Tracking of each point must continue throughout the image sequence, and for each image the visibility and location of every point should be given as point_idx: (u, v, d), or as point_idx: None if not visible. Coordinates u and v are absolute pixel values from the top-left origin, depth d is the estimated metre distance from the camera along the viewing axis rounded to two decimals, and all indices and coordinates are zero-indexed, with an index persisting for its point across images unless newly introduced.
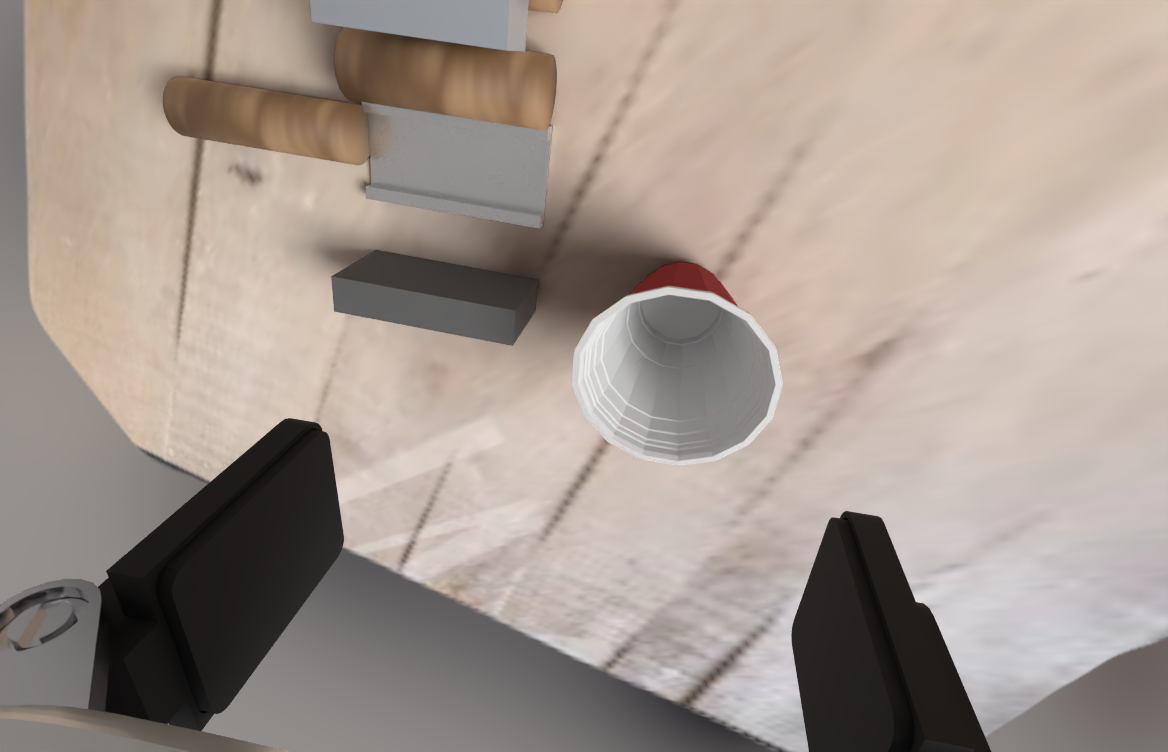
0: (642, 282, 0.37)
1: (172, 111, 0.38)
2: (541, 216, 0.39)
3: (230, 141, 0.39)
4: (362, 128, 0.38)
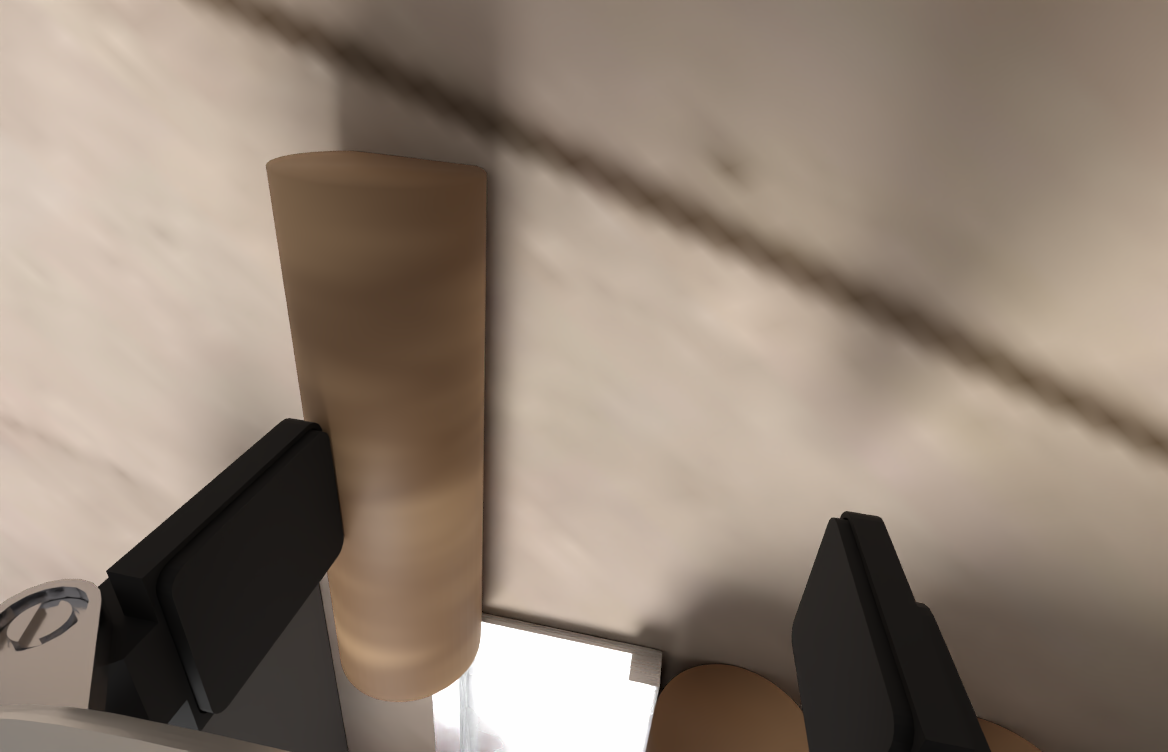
0: None
1: None
2: None
3: None
4: None
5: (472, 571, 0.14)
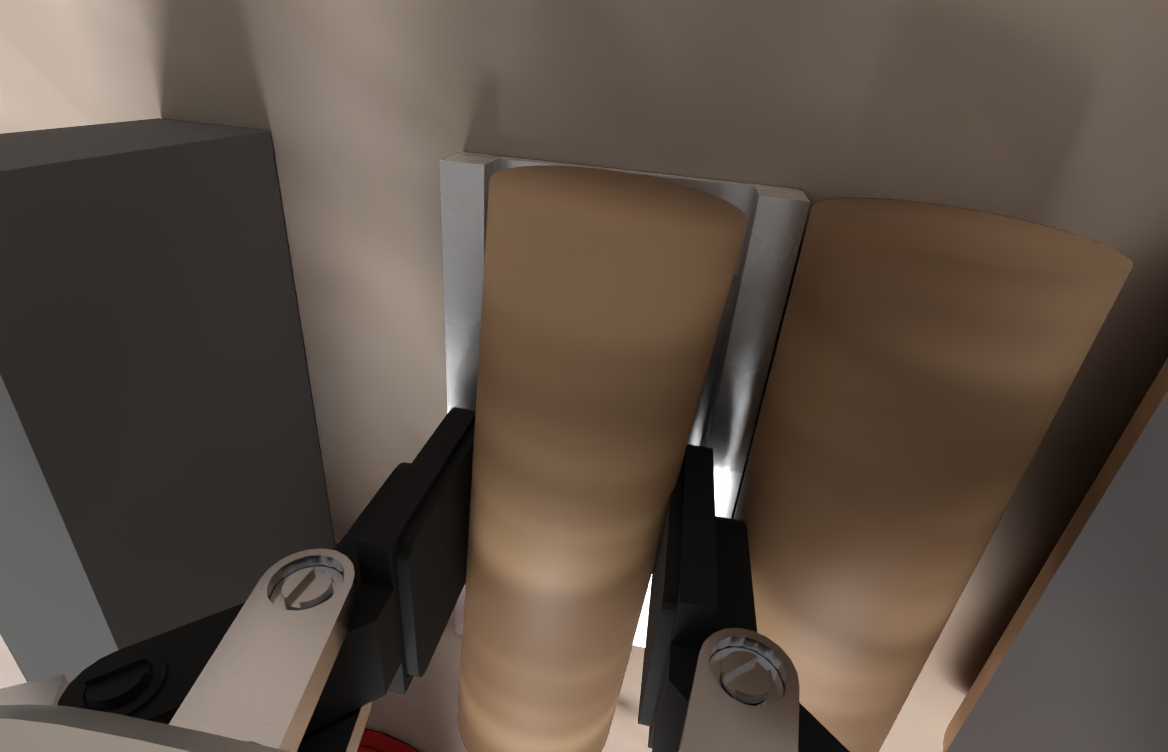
0: None
1: None
2: None
3: None
4: None
5: None
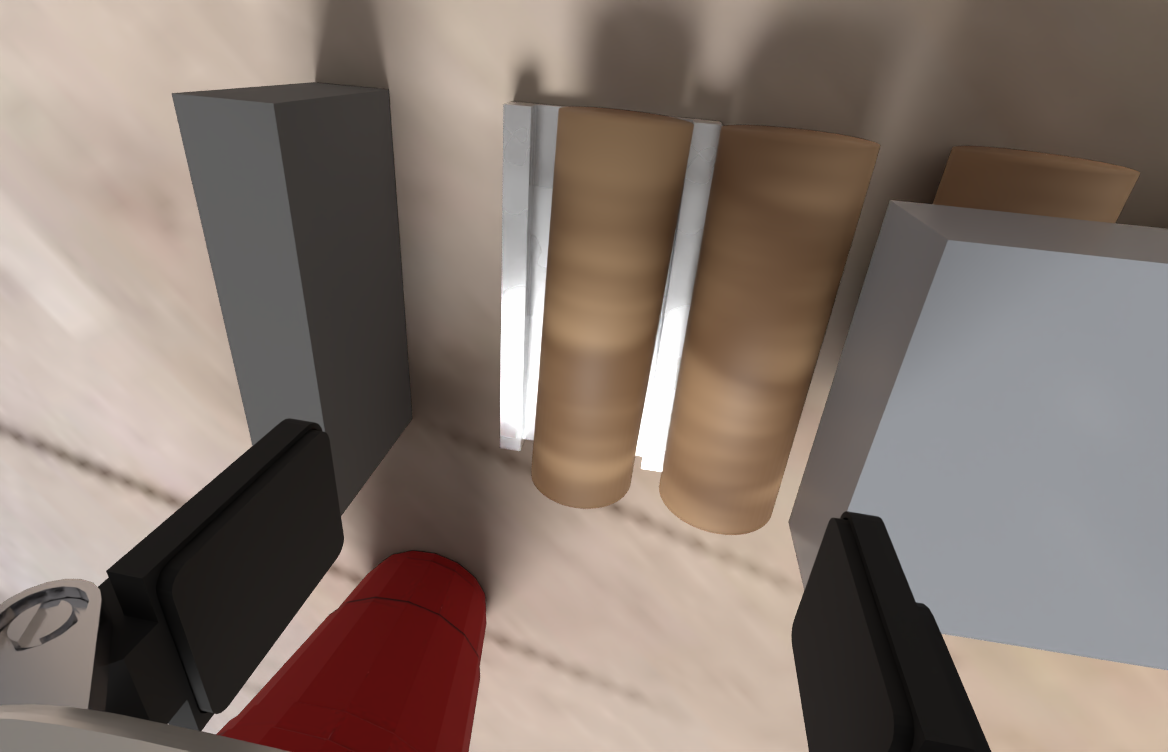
0: (445, 636, 0.24)
1: (557, 131, 0.16)
2: None
3: None
4: None
5: None
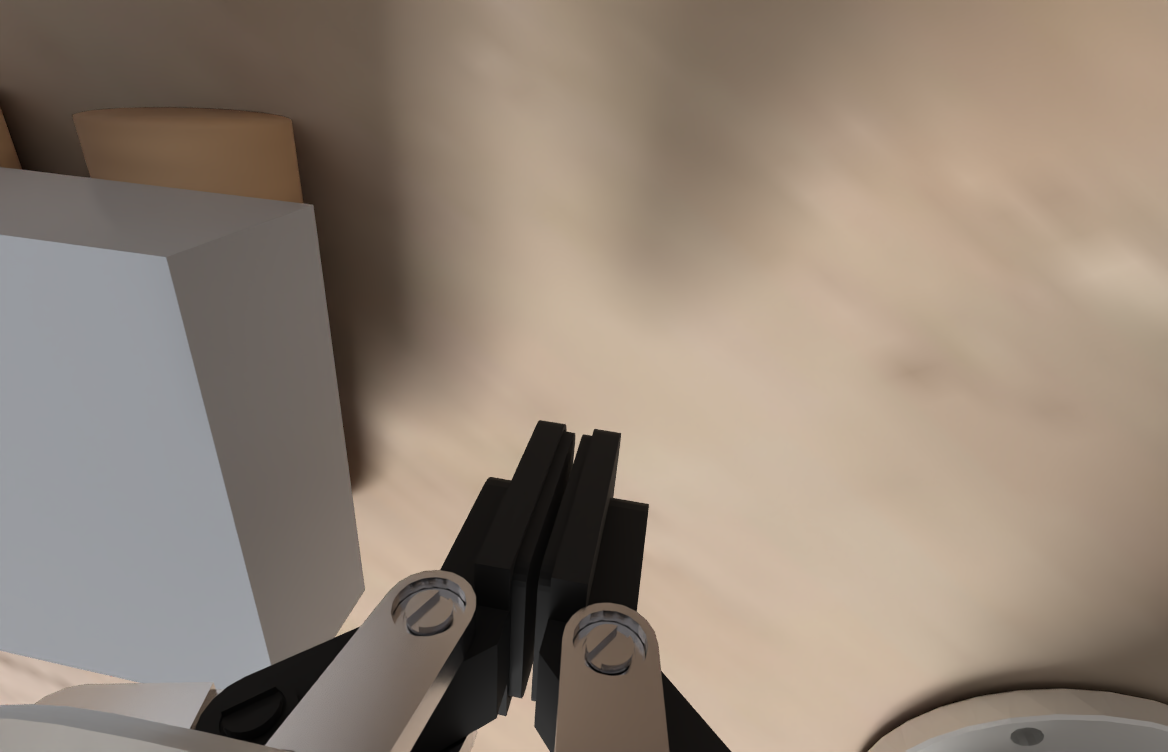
0: None
1: None
2: None
3: None
4: None
5: None
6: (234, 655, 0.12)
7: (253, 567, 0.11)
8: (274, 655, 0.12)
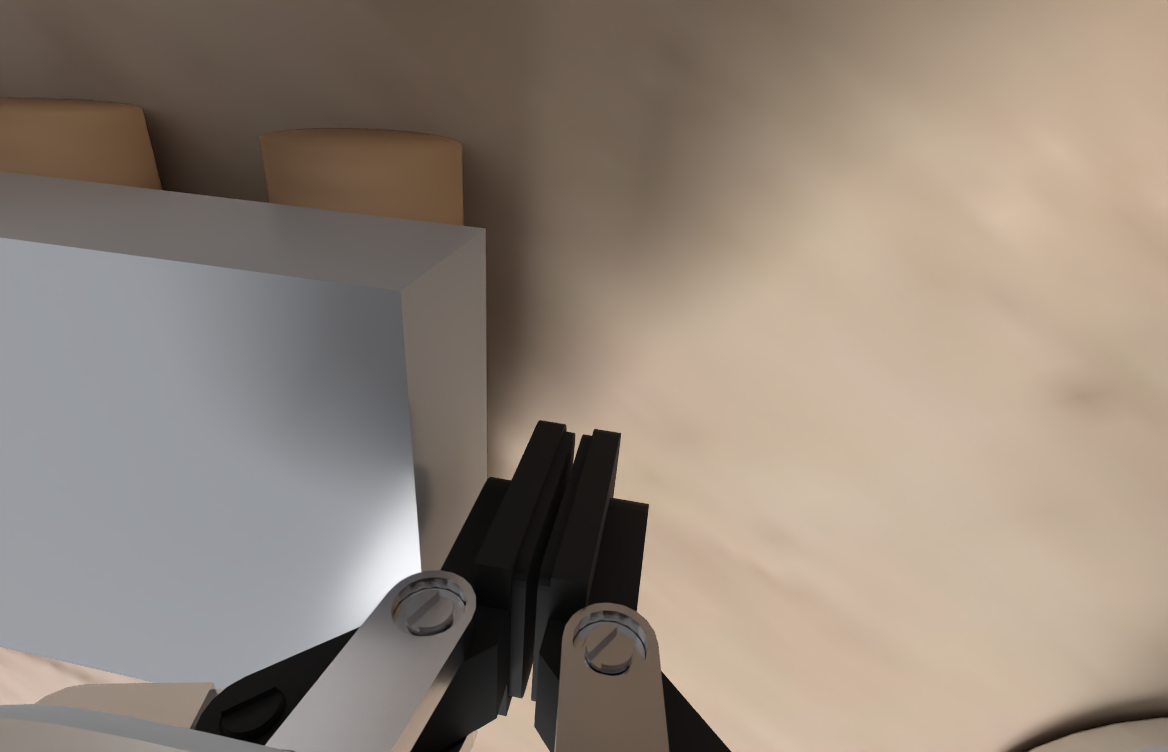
0: None
1: None
2: None
3: None
4: None
5: None
6: None
7: None
8: None
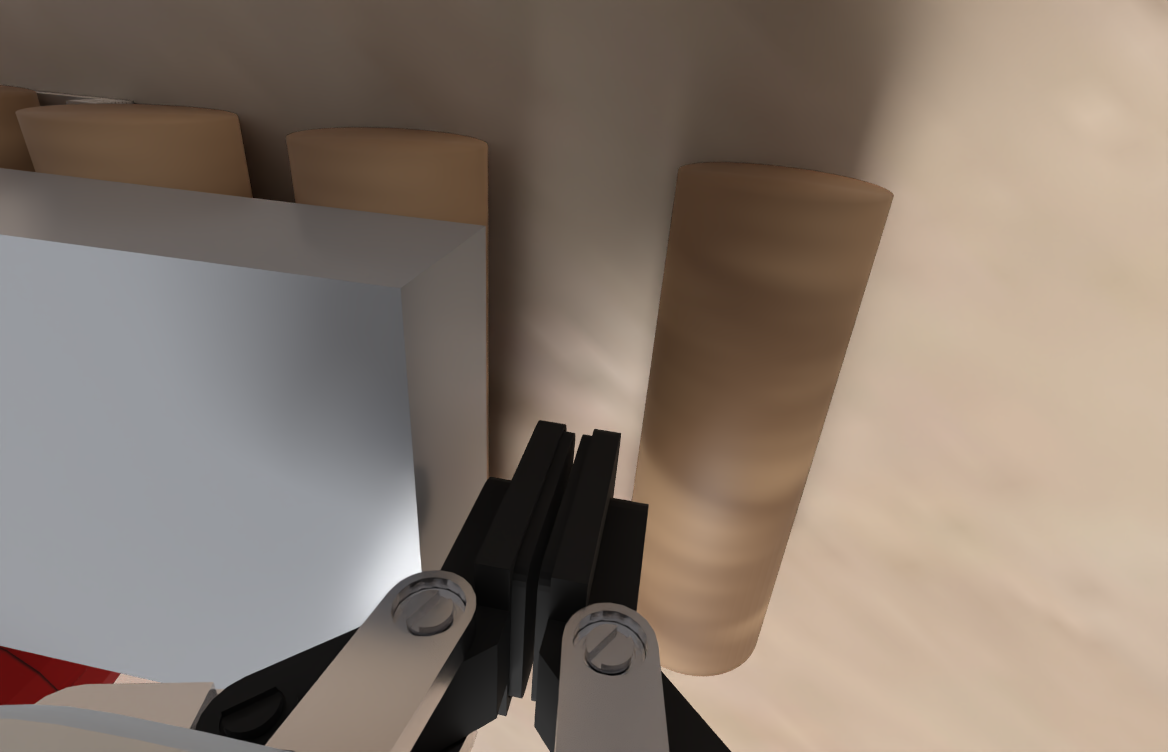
0: (0, 675, 0.22)
1: None
2: None
3: None
4: None
5: None
6: None
7: None
8: None
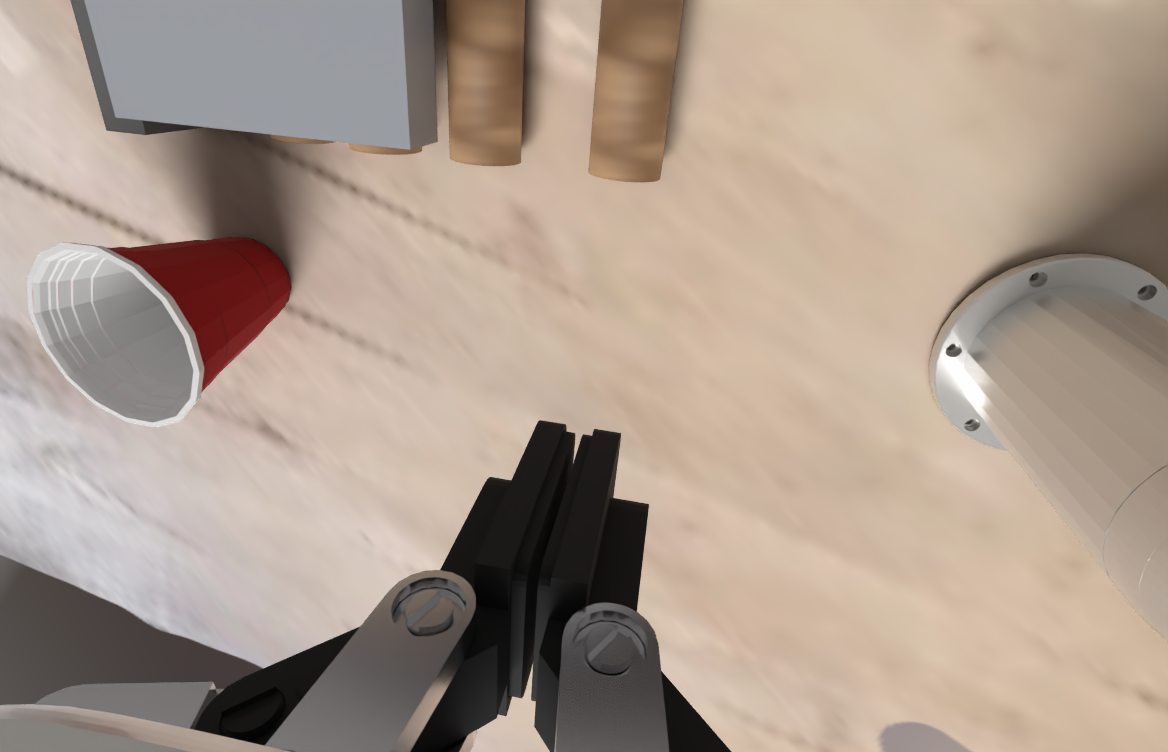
0: (237, 260, 0.38)
1: None
2: None
3: None
4: None
5: None
6: (392, 110, 0.29)
7: (406, 53, 0.27)
8: (409, 110, 0.29)
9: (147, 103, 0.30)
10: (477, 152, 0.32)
